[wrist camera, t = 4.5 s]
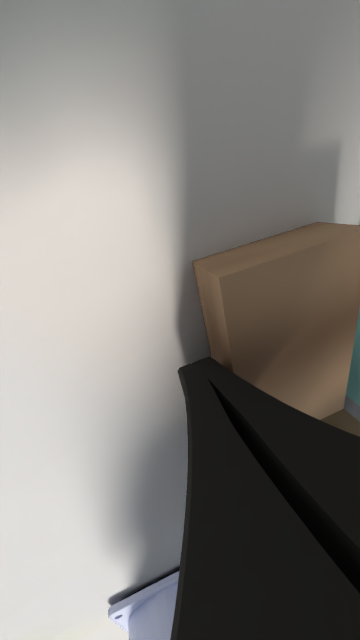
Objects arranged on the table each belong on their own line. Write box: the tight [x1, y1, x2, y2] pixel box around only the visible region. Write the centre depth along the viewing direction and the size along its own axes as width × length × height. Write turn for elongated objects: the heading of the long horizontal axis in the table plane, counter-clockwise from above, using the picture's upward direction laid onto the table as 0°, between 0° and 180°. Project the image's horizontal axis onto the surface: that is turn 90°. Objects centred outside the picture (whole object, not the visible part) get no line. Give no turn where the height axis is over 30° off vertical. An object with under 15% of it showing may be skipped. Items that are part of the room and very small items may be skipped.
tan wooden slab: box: [192, 222, 360, 420], centre depth 10 cm, size 8×5×2 cm, turn 13°
